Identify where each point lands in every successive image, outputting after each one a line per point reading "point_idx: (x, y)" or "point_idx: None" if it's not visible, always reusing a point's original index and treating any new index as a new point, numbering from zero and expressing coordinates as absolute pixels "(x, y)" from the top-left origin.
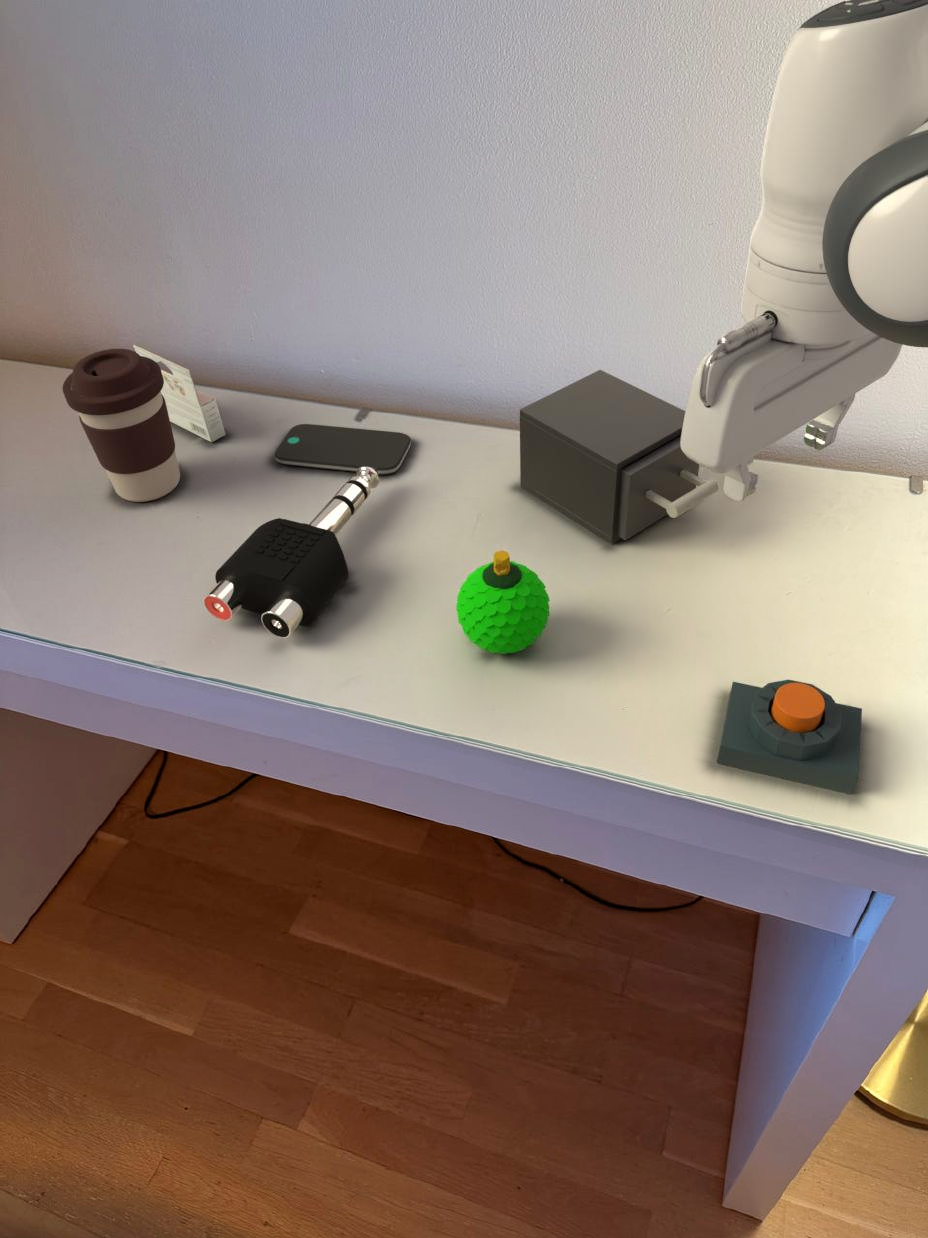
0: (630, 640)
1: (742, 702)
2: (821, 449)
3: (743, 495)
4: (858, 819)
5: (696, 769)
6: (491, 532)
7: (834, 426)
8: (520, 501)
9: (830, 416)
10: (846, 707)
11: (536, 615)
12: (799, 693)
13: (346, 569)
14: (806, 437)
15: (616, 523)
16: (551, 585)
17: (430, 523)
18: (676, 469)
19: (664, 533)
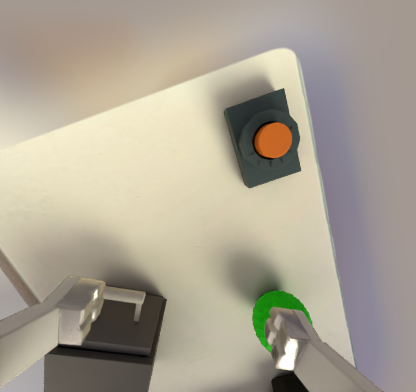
0: (233, 250)
1: (262, 175)
2: (103, 281)
3: (307, 319)
4: (291, 82)
5: (302, 175)
6: (199, 350)
7: (55, 308)
8: (165, 354)
9: (36, 334)
10: (230, 118)
11: (290, 307)
12: (269, 143)
13: (287, 388)
14: (96, 315)
15: (160, 311)
16: (218, 304)
17: (212, 375)
18: (102, 320)
19: (136, 282)
